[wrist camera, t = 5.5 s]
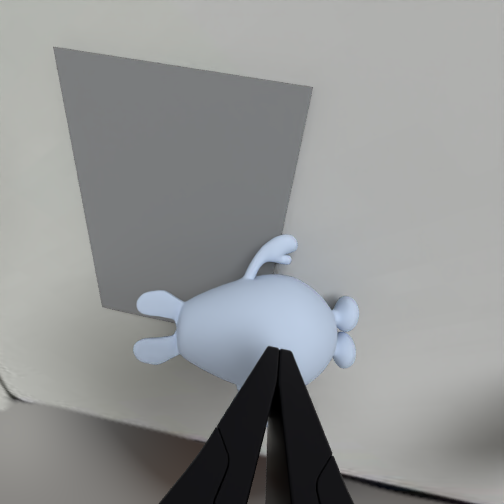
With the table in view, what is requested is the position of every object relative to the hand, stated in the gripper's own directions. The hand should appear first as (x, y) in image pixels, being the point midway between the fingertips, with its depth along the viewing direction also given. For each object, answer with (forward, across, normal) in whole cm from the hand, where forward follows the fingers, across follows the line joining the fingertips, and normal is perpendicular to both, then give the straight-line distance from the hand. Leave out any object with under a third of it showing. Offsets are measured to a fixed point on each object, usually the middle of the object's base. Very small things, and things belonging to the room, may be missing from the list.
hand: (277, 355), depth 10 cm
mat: (+8, +6, 0) cm, 10 cm away
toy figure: (+6, -5, +4) cm, 8 cm away
